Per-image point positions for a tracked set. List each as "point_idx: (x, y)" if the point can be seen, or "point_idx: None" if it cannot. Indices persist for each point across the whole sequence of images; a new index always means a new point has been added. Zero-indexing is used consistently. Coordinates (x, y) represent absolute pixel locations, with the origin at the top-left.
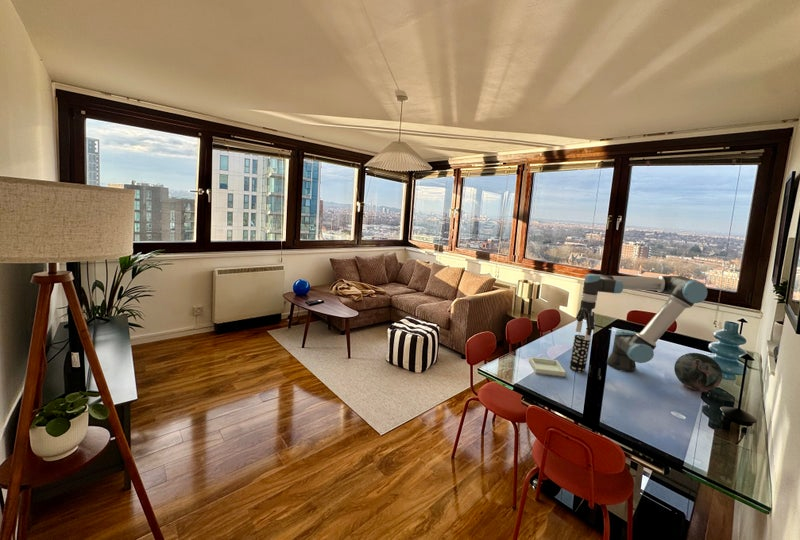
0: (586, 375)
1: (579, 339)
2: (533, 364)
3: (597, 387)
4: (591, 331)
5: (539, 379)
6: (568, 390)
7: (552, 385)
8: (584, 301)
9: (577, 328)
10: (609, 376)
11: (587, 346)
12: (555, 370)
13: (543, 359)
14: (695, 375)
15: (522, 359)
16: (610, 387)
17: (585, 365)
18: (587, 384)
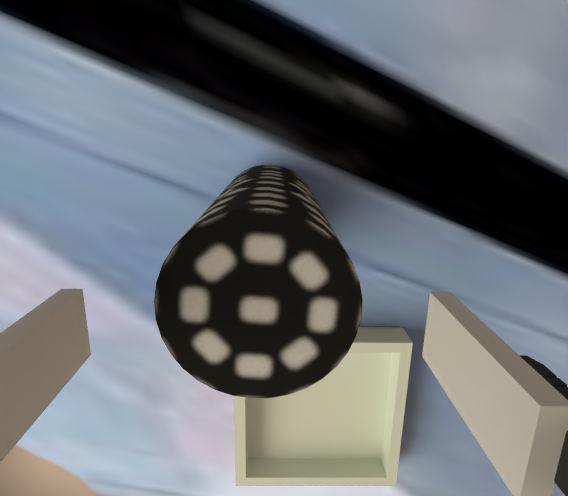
0: (352, 184)
1: (331, 364)
2: (330, 481)
3: (508, 181)
4: (540, 378)
5: (450, 458)
6: (553, 358)
7: None
8: None
9: (60, 376)
10: (332, 8)
11: (337, 237)
12: (399, 395)
13: (245, 418)
14: None
15: (218, 487)
16: (501, 90)
17: (304, 184)
18: (476, 229)
